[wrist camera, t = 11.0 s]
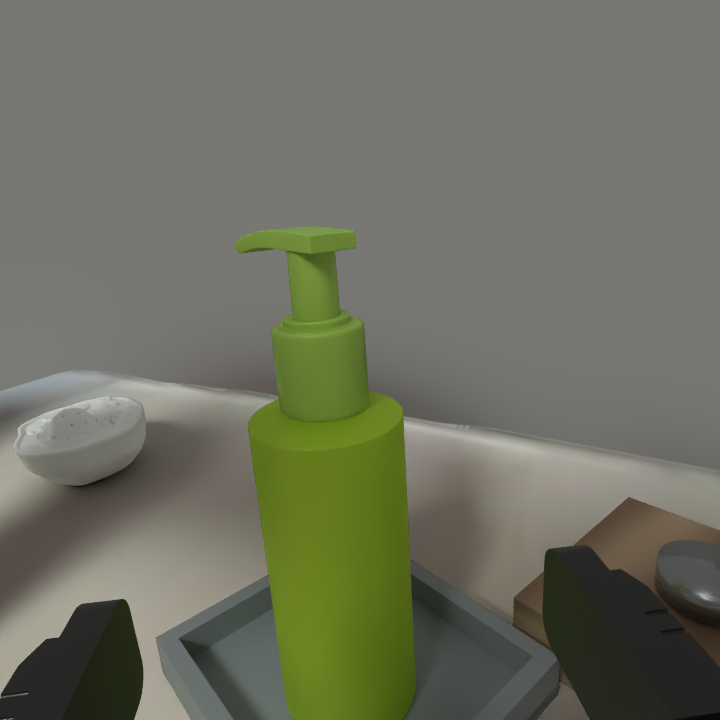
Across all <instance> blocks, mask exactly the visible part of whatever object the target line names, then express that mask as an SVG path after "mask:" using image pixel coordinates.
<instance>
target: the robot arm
mask: <svg viewBox="0 0 720 720" xmlns="http://www.w3.org/2000/svg"><path fill="white" fill-rule="evenodd" d="M542 616H543V624H544V629H545V633H546V636H547V639H548V642H549V644H550V647H551V649H552V651H553V652H554V654H555V656H556V658H557V660H558V662H559V663H560V665H561V667H562V669H563V671H564V673H565V674H566V676H567V678H568V680H569V682H570V683H571V685H572V687H573V689H574V691H575V693H576V694H577V696H578V698H579V700H580V702H581V704H582V705H583V707H584V709H585V711H586V713H587V715H588V716H589V718H590V720H720V667H719V666H718V665H717V664H716V662H715V661H714V660H713V659H712V658H711V657H710V656H709V655H708V653H707V652H706V651H705V650H704V649H703V648H702V647H701V646H700V644H699V643H698V642H697V641H696V640H695V639H694V638H693V637H692V635H691V634H690V633H686V631H685V628H684V626H683V625H682V624H681V623H680V622H679V621H678V620H677V619H676V617H675V616H674V615H673V614H672V613H669V612H668V608H667V607H666V606H665V605H664V604H663V603H662V602H661V600H660V599H659V598H658V597H657V596H656V595H655V594H654V593H653V591H652V590H651V589H650V588H649V587H648V586H647V585H645V584H643V583H642V582H640V581H639V580H637V579H636V578H634V577H633V576H631V575H630V574H628V573H627V572H625V571H623V570H622V569H616V570H609V569H608V567H607V566H606V565H605V564H604V563H603V561H602V560H601V559H600V558H599V556H598V555H597V554H596V553H595V552H594V550H593V549H592V548H591V547H589V546H588V545H578V546H569V547H561V548H553V549H548V550H547V551H546V554H545V562H544V585H543V607H542ZM142 688H143V664H142V659H141V655H140V650H139V646H138V642H137V638H136V634H135V629H134V625H133V621H132V617H131V612H130V608H129V605H128V603H127V602H126V600H124V599H119V600H111V601H102V602H94V603H86V604H81V605H79V606H78V607H77V608H76V609H75V611H74V613H73V614H72V616H71V618H70V620H69V621H68V623H67V625H66V627H65V628H64V630H63V632H62V634H61V635H60V637H59V638H51V639H46V640H45V641H44V642H43V643H42V644H41V645H40V646H39V647H37V648H36V649H35V650H34V651H33V652H32V653H31V654H30V655H29V656H28V657H27V658H26V659H25V660H24V661H23V662H22V663H21V664H20V665H19V666H18V667H17V669H16V671H15V672H14V674H13V675H12V677H11V679H10V680H9V682H8V684H7V685H6V687H5V688H4V690H3V692H2V693H1V698H0V720H134V718H135V715H136V712H137V709H138V706H139V703H140V699H141V694H142Z"/></svg>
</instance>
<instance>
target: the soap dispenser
mask: <svg viewBox="0 0 720 720" xmlns="http://www.w3.org/2000/svg"><path fill="white" fill-rule="evenodd" d="M234 245H235V247H236V249H237V250H238V252H239V253H248V252H256V251H265V250H273V249H278V250H286V253H287V264H288V272H289V283H290V292H291V302H292V310H293V314H290V315H288V316H286V317H285V318H284V319H283V322H281V323H279V324H276V325H275V326H274V327H273V328H272V330H271V336H272V345H273V354H274V362H275V370H276V378H277V387H278V396H279V400H276V401H274V402H272V403H269V404H268V405H266V406H264V407H262V408H261V409H259V410H258V411H257V412H256V413H255V414H254V415H253V416H252V417H251V419H250V420H249V423H248V432H249V439H250V446H251V454H252V461H253V468H254V475H255V482H256V490H257V497H258V504H259V511H260V518H261V526H262V533H263V540H264V547H265V554H266V562H267V569H268V576H269V583H270V590H271V598H272V605H273V612H274V619H275V626H276V634H277V641H278V648H279V655H280V662H281V670H282V677H283V684H284V691H285V698H286V704H287V707H288V710H289V713H290V715H291V717H292V719H293V720H403V718H404V717H405V716H406V714H407V713H408V711H409V709H410V707H411V705H412V702H413V699H414V696H415V690H416V674H415V653H414V632H413V611H412V590H411V569H410V548H409V527H408V506H407V485H406V464H405V443H404V422H403V410H402V408H401V406H400V404H399V403H398V402H396V401H395V400H394V399H392V398H390V397H388V396H386V395H383V394H380V393H377V392H373V391H369V390H368V375H367V361H366V345H365V331H364V323H363V321H362V320H361V319H360V318H357V317H354V316H350V313H349V312H347V311H344V310H340V307H339V295H338V283H337V270H336V257H335V251H340V250H347V249H353V248H356V241H355V231H352V230H346V229H339V228H332V227H321V226H304V227H294V228H284V229H273V230H264V231H258V232H254V233H251V234H248V235H246V236H244V237H242V238H241V239H239V240H238V241H236V242H235V243H234Z"/></svg>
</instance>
